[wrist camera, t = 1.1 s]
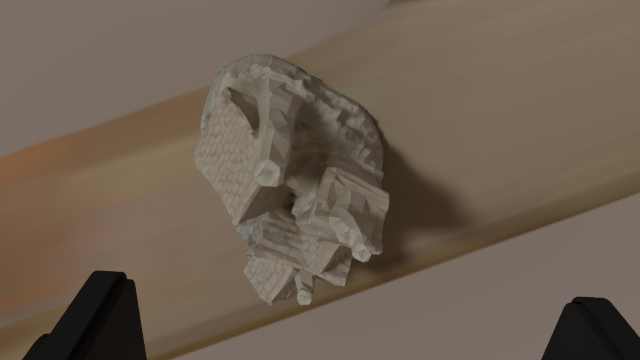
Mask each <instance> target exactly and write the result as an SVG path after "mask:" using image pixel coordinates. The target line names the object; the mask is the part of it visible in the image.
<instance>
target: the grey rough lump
mask: <svg viewBox="0 0 640 360" xmlns="http://www.w3.org/2000/svg"><path fill="white" fill-rule="evenodd" d="M201 117H202V121H201V136H202V137H201V139H200V141H199V144H198V146H197V148H196V151H195V153H194V161H195V166H196V167H197V169H198V170H199V171H201V172H202V173H203V175H204V176H205V177H206V178H207V180H208V181H209V182H211V184H212V187H213V188H214V189H215V190H216V191H217V192H218V193H219V194H220V195H221V197H222V202H223V203H224V204H225V205H226V207H227V210H228V212H229V214H230V217H231V218H232V223H233V226H234V227H236V229H237V232H239V233H240V234H241V235H242V237H243V240H246V245H245V248H246V252H245V255H247V256H248V259H249V262H248V264H247V265H246V267H245V269H244V273H245V275H246V277H247V278H248V279H249V281H250V282H251V283H252V285H253V286H254V288H255V289H256V291H257V292H258V294H259V297H260V298H262V299H263V300H264V301H265V302H266V303H268V304H269V305H270V306H271V305H273V304H274V303H277V302H278V300H289V299H290V298H297V299H298V302H299V304H300V305H306V304H310V302H311V301H312V300H313V298H314V288H315V280H316V279H318V280H321V281H324V282H329V283H331V284H333V285H334V286H336V285H337V286H345V283H346V280H347V277H348V273H349V269H350V265H351V262H352V259H353V257H354V258H355V259H357V260H359V261H361V262H368V261H369V259H370V257H371V255H372V254H373V255H375V254H377V255H379V254H380V253H382V250H383V244H382V233H383V226H384V221H385V218H386V214H387V211H388V208H389V193H387V192H385V191H383V189H382V179H383V176H384V173H383V172H382V166H383V152H384V150H383V146H382V143H381V140H380V137H379V134H378V131H377V129H376V126H375V125H374V123H373V121H372V119H371V117H370V116H369V115H368V113H367V112H366V111H365V110H364V108H363V107H362V106H361V105H359V103H358V102H356V101H354V100H352V99H350V98H348V97H346V96H345V95H343V94H341V93H339V92H337V91H335V90H333V88H330V87H328V86H326V85H325V84H323V83H322V82H321V81H320V80H318V79H317V78H315V77H314V76H311V75H309V74H306V73H305V72H303V71H302V70H300V69H299V68H297V67H296V66H294V65H291V64H289V63H288V62H286V61H285V60H283V59H281V58H280V57H277V56H273V55H262V54H253V55H252V54H250V55H248V56H246V57H242V58H239V59H237V60H235V61H233V62H231V63H230V65H227V66H225V67H223V69H222V70H221V71H220V73H219V74H218V75H217V78H216V79H215V80H214V81H213V85H212V86H211V89H210V92H209V95H208V97H207V100H206V103H205V106H204V109H203V112H202V115H201Z"/></svg>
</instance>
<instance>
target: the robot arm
mask: <svg viewBox="0 0 640 360" xmlns="http://www.w3.org/2000/svg"><path fill="white" fill-rule="evenodd" d="M22 360H147V358H146V352H145V345H144V339H143V333H142V326H141V320H140V313H139V307H138V300H137V294H136V287H135V283H134V281H133V280H132V279H127V276H126V274H125V273H124V272H114V271H94V272H93V273H92V274H91V275H90V277H89V278H88V279H87V281H86V282H85V284H84V285H83V287H82V288H81V290H80V291H79V292H78V294H77V295H76V297H75V298H74V300H73V301H72V303H71V304H70V305H69V307H68V308H67V310H66V311H65V313H64V314H63V316H62V317H61V319H60V320H59V321H58V323H57V324H56V326H55V327H54V329H53V330H52V332H51V333H50V334H44V335H42V336H41V337H39V338H38V339H37V341H36V342H35V343H34V344H33V345H32V347H31V348H30V349H29V351H28V352H27V354H26V355H25V356H24V358H23V359H22ZM541 360H640V337H639V336H638V335H637V334H636V333H635V331H634V330H633V329H632V328H631V326H630V325H629V324H628V323H627V321H626V320H625V319H624V318H623V317H622V315H621V314H620V313H619V312H618V310H617V309H616V308H615V307H614V306H613V304H612V303H611V302H610V301H609V300H607V299H605V298H594V297H575V298H574V299H573V300H572V302H571V303H568V304H566V305H565V307H564V309H563V311H562V314H561V315H560V318H559V320H558V322H557V325H556V327H555V329H554V332H553V334H552V336H551V339H550V341H549V343H548V345H547V348H546V350H545V352H544V355H543V357H542V359H541Z"/></svg>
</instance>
